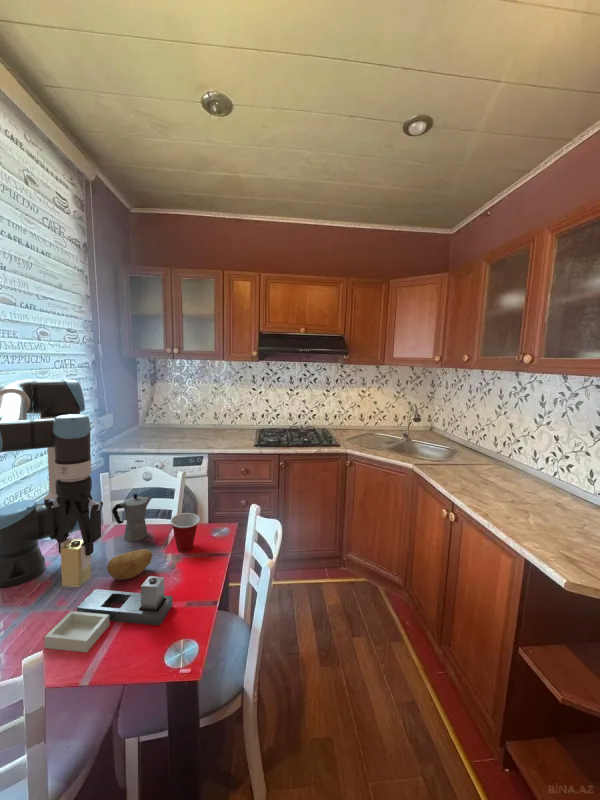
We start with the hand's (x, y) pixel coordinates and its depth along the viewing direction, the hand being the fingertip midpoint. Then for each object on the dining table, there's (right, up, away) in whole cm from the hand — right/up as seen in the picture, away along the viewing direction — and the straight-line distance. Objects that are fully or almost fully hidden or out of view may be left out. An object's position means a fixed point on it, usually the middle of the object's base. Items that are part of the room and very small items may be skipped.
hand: (76, 565), depth 88 cm
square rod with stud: (+15, -19, +11) cm, 27 cm away
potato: (0, -17, +28) cm, 33 cm away
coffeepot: (-11, -14, +53) cm, 56 cm away
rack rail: (+7, -19, +12) cm, 23 cm away
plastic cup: (+13, -16, +46) cm, 50 cm away
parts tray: (-1, -20, +2) cm, 20 cm away
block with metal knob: (0, -4, 0) cm, 4 cm away
